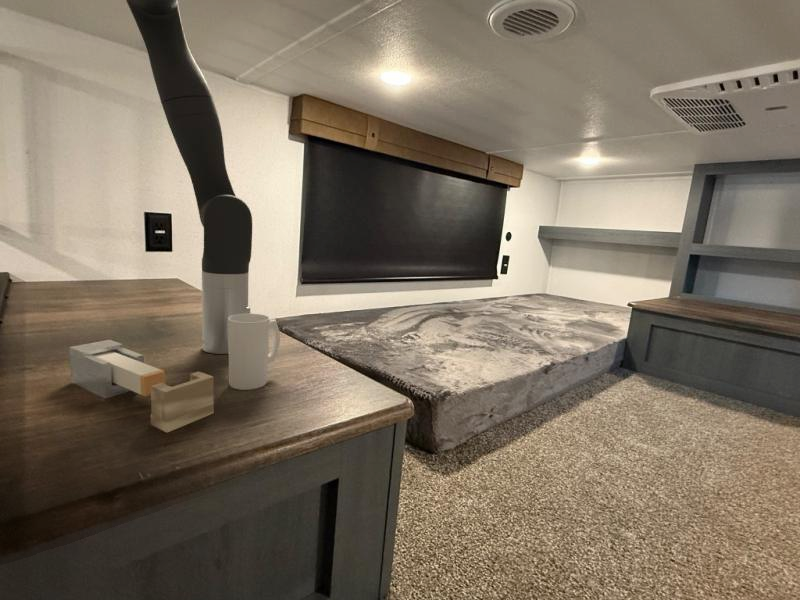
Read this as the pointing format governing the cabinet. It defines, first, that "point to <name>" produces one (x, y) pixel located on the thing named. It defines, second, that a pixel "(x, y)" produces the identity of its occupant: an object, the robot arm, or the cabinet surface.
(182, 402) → the socket
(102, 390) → the grey slotted channel block
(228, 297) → the robot arm
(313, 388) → the cabinet surface
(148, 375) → the cream square bar
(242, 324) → the mug
